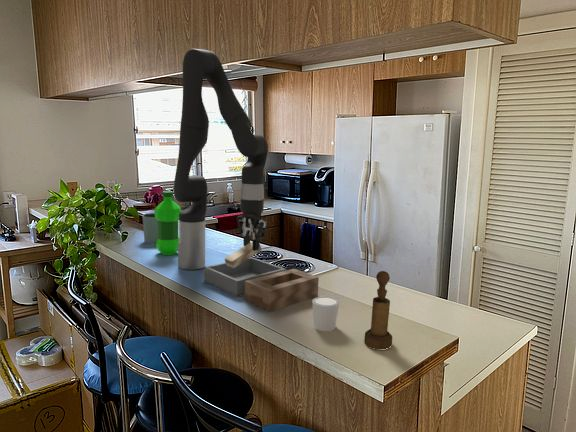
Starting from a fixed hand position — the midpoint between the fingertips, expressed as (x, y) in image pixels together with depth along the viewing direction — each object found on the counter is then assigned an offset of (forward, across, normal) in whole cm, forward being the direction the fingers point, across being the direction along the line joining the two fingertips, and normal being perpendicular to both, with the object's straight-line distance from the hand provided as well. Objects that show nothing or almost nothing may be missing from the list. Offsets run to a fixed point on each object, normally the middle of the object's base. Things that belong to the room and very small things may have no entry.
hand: (251, 248), depth 146 cm
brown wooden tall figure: (+11, +55, -5) cm, 56 cm away
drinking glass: (+12, -69, 0) cm, 70 cm away
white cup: (+11, +40, -8) cm, 42 cm away
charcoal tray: (+11, 0, -2) cm, 12 cm away
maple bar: (+3, 0, -3) cm, 4 cm away
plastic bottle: (+11, -47, -4) cm, 49 cm away
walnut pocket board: (+11, +18, -2) cm, 21 cm away
